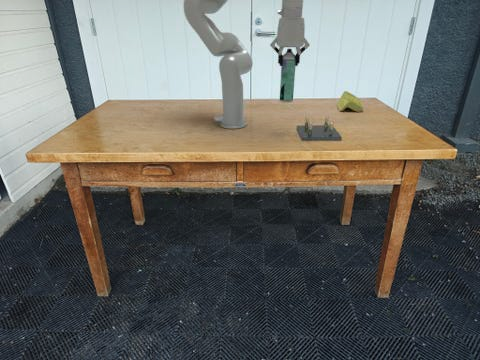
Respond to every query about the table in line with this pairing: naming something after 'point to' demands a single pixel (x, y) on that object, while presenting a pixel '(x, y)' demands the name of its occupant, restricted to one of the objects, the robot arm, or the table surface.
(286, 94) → the spray can
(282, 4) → the robot arm
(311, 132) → the post plate
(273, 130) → the table surface
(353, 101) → the plastic component
